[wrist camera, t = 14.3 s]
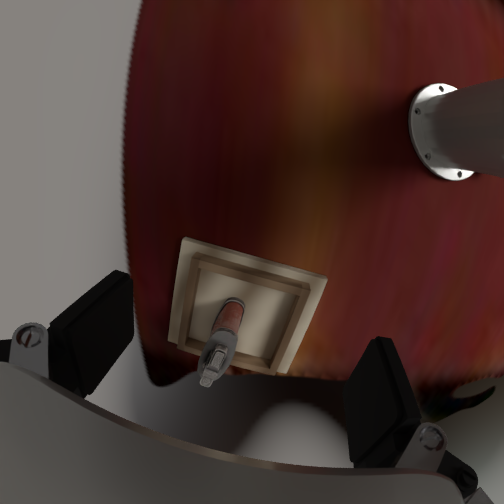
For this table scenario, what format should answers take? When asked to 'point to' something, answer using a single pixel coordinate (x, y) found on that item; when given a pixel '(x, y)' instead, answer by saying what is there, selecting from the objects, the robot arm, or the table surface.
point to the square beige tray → (252, 294)
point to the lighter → (221, 341)
